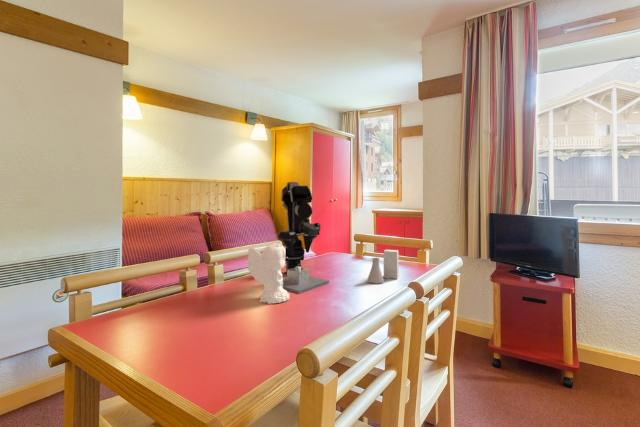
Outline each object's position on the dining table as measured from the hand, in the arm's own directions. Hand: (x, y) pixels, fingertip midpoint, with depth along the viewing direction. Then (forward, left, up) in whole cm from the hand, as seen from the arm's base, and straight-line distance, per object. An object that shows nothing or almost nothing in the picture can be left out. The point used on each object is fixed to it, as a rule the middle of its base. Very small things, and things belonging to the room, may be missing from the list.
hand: (299, 254), depth 138 cm
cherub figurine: (+5, -21, -12) cm, 25 cm away
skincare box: (+25, +32, -12) cm, 42 cm away
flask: (+23, +22, -12) cm, 34 cm away
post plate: (0, -1, -12) cm, 12 cm away
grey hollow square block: (0, -1, -11) cm, 11 cm away
